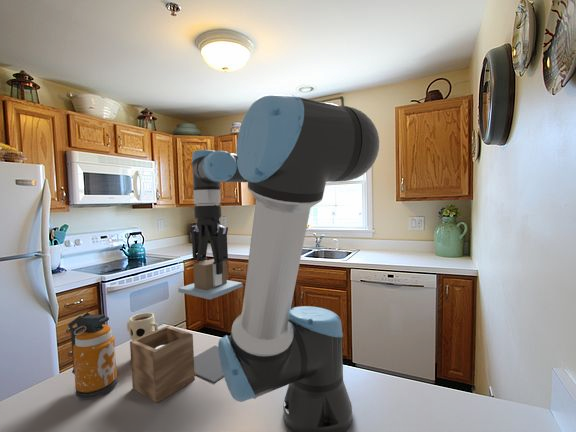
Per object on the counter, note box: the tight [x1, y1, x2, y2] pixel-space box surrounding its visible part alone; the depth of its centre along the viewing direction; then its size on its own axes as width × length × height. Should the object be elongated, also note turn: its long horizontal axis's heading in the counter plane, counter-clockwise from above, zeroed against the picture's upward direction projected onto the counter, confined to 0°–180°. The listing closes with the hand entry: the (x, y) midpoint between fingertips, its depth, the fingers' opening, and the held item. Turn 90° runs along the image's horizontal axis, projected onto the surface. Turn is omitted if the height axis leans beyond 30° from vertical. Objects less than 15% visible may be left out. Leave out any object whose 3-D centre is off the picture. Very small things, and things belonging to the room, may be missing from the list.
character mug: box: [126, 312, 159, 341], centre depth 92 cm, size 11×7×13 cm, turn 77°
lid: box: [177, 258, 244, 300], centre depth 86 cm, size 13×13×9 cm
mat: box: [194, 345, 224, 384], centre depth 87 cm, size 15×14×1 cm
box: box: [129, 325, 196, 404], centre depth 78 cm, size 11×11×12 cm
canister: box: [67, 312, 118, 400], centre depth 76 cm, size 9×11×20 cm
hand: (210, 283), depth 87 cm, fingers closed on lid, 5 cm apart
